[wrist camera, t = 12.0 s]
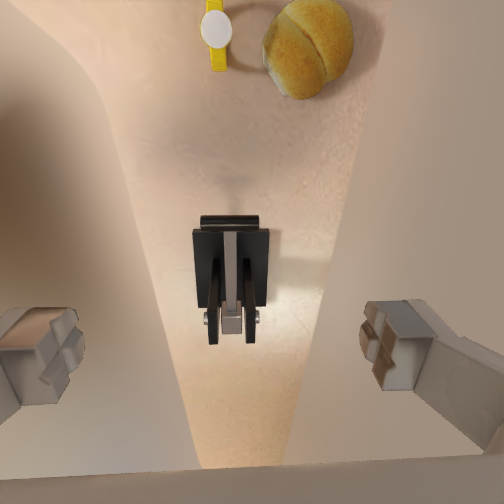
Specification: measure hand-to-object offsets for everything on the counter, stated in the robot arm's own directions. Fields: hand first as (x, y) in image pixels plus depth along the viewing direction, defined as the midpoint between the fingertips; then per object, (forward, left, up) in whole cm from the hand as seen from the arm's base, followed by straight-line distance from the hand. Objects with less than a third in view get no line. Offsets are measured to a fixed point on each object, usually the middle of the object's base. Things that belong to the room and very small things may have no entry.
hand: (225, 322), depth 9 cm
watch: (-11, -1, -31) cm, 33 cm away
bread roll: (-10, +8, -31) cm, 34 cm away
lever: (+10, 0, -20) cm, 23 cm away
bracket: (+16, 0, -31) cm, 35 cm away
